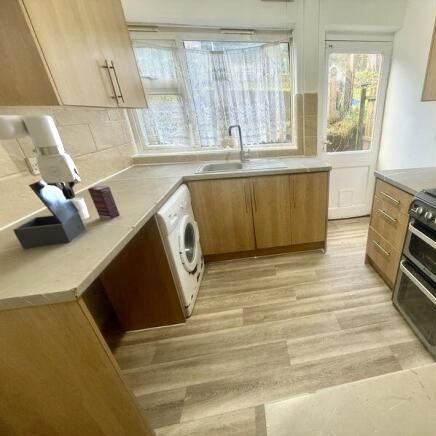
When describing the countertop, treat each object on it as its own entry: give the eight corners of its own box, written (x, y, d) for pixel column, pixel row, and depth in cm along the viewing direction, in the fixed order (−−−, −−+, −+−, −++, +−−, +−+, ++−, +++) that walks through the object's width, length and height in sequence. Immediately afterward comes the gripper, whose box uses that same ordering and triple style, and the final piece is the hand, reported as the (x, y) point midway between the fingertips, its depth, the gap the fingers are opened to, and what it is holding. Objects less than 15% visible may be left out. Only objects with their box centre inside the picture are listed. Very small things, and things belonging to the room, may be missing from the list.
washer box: (23, 250, 94) (12, 229, 91) (44, 235, 106) (35, 217, 102) (70, 244, 98) (61, 224, 94) (86, 230, 109) (78, 212, 105)
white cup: (67, 220, 120) (58, 202, 116) (84, 214, 127) (76, 196, 122) (77, 222, 117) (68, 203, 113) (94, 216, 124) (86, 197, 120)
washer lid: (28, 185, 87) (30, 184, 87) (50, 176, 98) (52, 176, 98) (60, 223, 94) (62, 223, 94) (77, 212, 105) (79, 211, 105)
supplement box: (121, 216, 123) (109, 186, 116) (112, 220, 118) (99, 189, 112) (109, 215, 125) (97, 185, 119) (99, 219, 121) (86, 188, 115)
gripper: (19, 154, 85) (42, 203, 92) (69, 151, 88) (87, 199, 95) (34, 151, 91) (54, 197, 99) (80, 148, 95) (96, 193, 102)
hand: (70, 198), depth 97 cm, fingers closed
